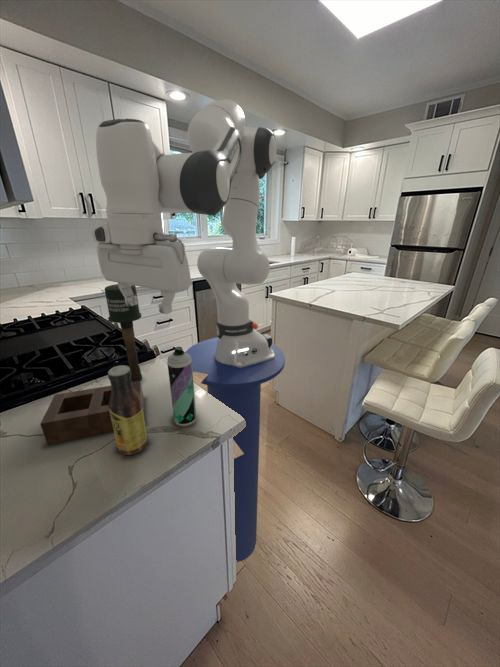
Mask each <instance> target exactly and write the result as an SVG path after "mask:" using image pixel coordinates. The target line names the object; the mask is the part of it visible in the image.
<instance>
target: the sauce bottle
mask: <svg viewBox="0 0 500 667" xmlns="http://www.w3.org/2000/svg"><path fill="white" fill-rule="evenodd" d="M107 377H108V380H109V382H110V386H111V387H112V391H111V396H110V401H109V406H108V408H109V412H110V417H111V421H112V426H113V430H114V431H113V435H114V439H115V443H116V447H117V449H118V451H119V452H120V453H121V454H122V455H125V456H130V455H131V456H132V455H135V454H138V453H140V452H141V451H142V450H144V449H145V448H146V445H147V442H148V441H147V437H148V435H147V428H146V424H145V423H146V422H145V414H144V415H143V408H142V405H141V399H140V395H139V392H138V391H137V390H135V389H134V388H133V385H132V382H131V370H130V368H129V365H123V364H122V365H117V366H113V367H111V368H110V369H109V370H108V371H107Z"/></svg>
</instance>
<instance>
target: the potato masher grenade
mask: <svg viewBox="0 0 500 667" xmlns="http://www.w3.org/2000/svg"><path fill="white" fill-rule="evenodd" d="M131 289H132V291H133V294H134V295H135V296H137V301H138V302H139V299H138V292H137V286H135V285H132V286H131ZM104 292H105V293H104V294H105V299H106V304H107V310H108V315H109V316H108V321H109V322H111V323H115V324H119V325H120V328H121V329H120V330H121V334H122V338H123V339H122V340H123V341H124V347H125V352H126V356H127V362H128V363H127V364H128V367H129V368H130V370H131V382H136V381H141V382H142V381H143V375H142V370H141V367H140V364H139V359H138V353H137V347H136V341H135V337H136V336H135V329H134V321H138V320H140V319H141V318H142V312H140V305H139V303H138V304H137V305H134V306H130V305H126V303H125V297H124V296H123V294H122V292H121V291H120V289H119V287H118V283H116V284H109V285H107V286H105V287H104Z"/></svg>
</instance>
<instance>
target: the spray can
mask: <svg viewBox="0 0 500 667" xmlns="http://www.w3.org/2000/svg"><path fill="white" fill-rule="evenodd" d="M185 352H186V351H185V350H183V347H181V346H176V347H174V351H173V352H172V354H170V355H168V357H167V360H166V361H167V362H166V363H167V372H168V380H169V388H170V396H171V397H170V398H171V404H172V412H173V414H172V415H173V420H174V424H175V425H177V426H179V427H188V426H191V425H193V424H194V423H195V422H196V420H197V409H196V398H195V397H196V396H195V386H194V372H193V371H192V359H191V356H190V354H188V353H185Z"/></svg>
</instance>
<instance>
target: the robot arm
mask: <svg viewBox="0 0 500 667" xmlns="http://www.w3.org/2000/svg"><path fill="white" fill-rule="evenodd" d="M95 135H96V136H95V148H96V150H95V152H96V160H97V167H98V173H99V179H100V184H101V187H102V189H103V191H104V193H105V197H106V198H105V199H106V207H105V213H106V219H107V220H105V221H104V222H103V223H102V224H100V225H98V226H97V227H94V228H93V229H92V231H91V234H92V238H93V241H94V242H95V243H97V245H96V254H97V259H98V264H99V267H100V272H101V274H102V276H103V278H104V279H105V280H106V281H108V282H113V283H117V284H118V287H119V289H120V291H121V292H122V294H123V296H124V297H125V303H126V305H130V306H134V305H137V304H138V305H139V300H138V301H137V298H138V295H137V296H135V295H134V294H133V291H132V289H131V286H132V285H135V286H136V287H142V288H146V289H152V290H157V291H160V296H161V297H163V298H162V301H161V303H158V310H159V311H158V312H159V313H160V314H164V315H168V314H171V313H172V311H173V306H172V303H173V301H174V299H175V296H176V294H177V293H182V292H184V291H187V290H189V289H190V287H191V285H192V277H191V271H190V265H189V260H188V257H187V252H186V247H185V243H184V242H183V241H182V240H181V238H180V237H178V236H177V235H176V234H173V233H170V234H167V233H165V227H164V218H163V214H165V213H167V214H198V215H205V216H206V215H207V216H216V215H217V214H219V213H220V211H222V210H223V211H222V217H221V227H222V230H223V232H224V233H225V235H227V236H228V237H230V238H231V241H232V248H229V247H211V248H206V249H203V250H201V251H200V253H199V255H198V257H197V260H196V264H197V265H196V266H197V271H198V272H199V274H200V276H201V277H203V279H204V280H206V282H207V283H208V284H209V286H210V289H211V290H212V292H213V294H214V298H215V302H216V303H215V304H216V312H217V314H216V315H217V320H216V325H215V326H216V328H215V329H216V337H218V341H217V349H216V353H215V359H216V360H217V361H218V362H220V363H223V364H227V365H233V366H235V367H238V368H242V367H246V366H249V365H253V364H256V363H260V362H264V361H267V360H271V359H274V357H275V355H274V351H273V350H272V349H271V348H270V347H271V345H272V344H273V337H272V336H271V335H270V334H268V333H265V334H264V333H263V334H262V333H260V332H258V331H257V329H258V328H259V325H258V324H257V323H256V322H254V321H253V320H251V319H250V318H249V317H250V302H249V299H248V297H247V296H246V295H245V294H244V293H243V292H242V291H240V289H239V288H238V286H237V284H239V285H246V286H247V285H248V286H250V285H260V284H263V283H264V282H265V281H266V280H267V279H268V277H269V274H270V269H271V264H270V260H269V258H268V256H267V255H266V253H265V252H264V251H263V250H262V249H261V248H260V246H259V243H258V240H257V234H256V233H257V232H256V231H257V221H258V214H259V213H258V212H259V206H260V195H261V194H260V193H261V184H260V183H261V182H260V180H262V179H264V177H265V175H266V174H267V173H268V172H269V171H270V170H271V169H272V167H273V166H274V164H275V162H276V161H275V160H276V157H277V150H278V149H277V147H278V146H277V141H276V136H275V134H274V132H273V131H272V130H271V129H269V128H267V127H262V126H259V127H252V126H251V127H250V126H246V117H245V113H244V111H243V109H242V108H241V106H240V105H239V104H238V103H237V102H236V101H234V100H232V99H228V98H224V99H217V100H215V101H213V102H210V103H208V104H207V105H205V106H204V107H203V108H201V109H200V110H199V111H198V112H196V113H195V115H194V116H193V117H192V118H191V120H190V123H189V125H188V128H187V140H188V146H189V149H190V150H191V152H187V153H185V152H184V153H172V154H166V153H165V152H164V151H162V150H161V149H160V148H159V147H158V146H157V145H156V144H155V142H154V141H153V137H152V133H151V130H150V126H149V124H148V123H146V122H145V121H143V120H140V119H136V118H116V119H108V120H104V121H102V122H101V123H99V125H98V126H97V129H96V133H95Z"/></svg>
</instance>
